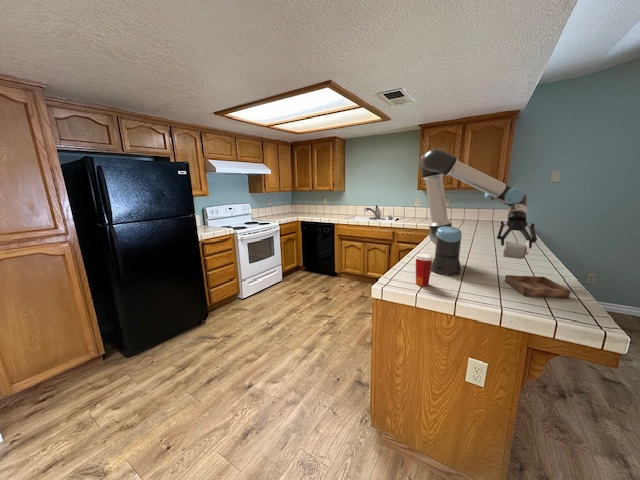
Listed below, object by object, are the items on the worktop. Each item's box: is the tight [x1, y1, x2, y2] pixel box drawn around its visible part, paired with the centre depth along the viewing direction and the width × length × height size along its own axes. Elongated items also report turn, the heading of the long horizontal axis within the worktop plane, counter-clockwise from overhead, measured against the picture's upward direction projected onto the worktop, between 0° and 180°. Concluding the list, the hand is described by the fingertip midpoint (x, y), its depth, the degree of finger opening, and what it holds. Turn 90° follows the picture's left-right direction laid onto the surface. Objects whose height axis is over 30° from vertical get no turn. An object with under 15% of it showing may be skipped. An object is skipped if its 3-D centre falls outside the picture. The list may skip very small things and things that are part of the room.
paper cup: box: [414, 253, 434, 287], centre depth 119 cm, size 8×8×14 cm
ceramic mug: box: [502, 241, 526, 260], centre depth 126 cm, size 11×8×8 cm
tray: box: [504, 274, 571, 299], centre depth 112 cm, size 16×16×4 cm
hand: (515, 252), depth 121 cm, fingers closed on ceramic mug, 8 cm apart
